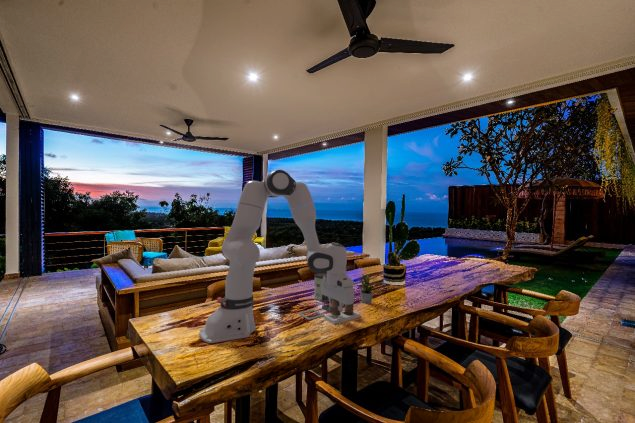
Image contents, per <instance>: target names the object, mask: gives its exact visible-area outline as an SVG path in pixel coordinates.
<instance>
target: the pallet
mask: <svg viewBox="0 0 635 423" xmlns="http://www.w3.org/2000/svg"><path fill="white" fill-rule="evenodd" d="M358 318H361V313H359V312H357V311H355V310H353V315H351V316H347V315H345V310H342V311H341V315H338V316H335V315H332V313H329V314H327V315H325V316H323V320H325V321H326V322H328V323H330V324H333V325H337V324H340V323H341V324H342V323H344V322H347V321H351V320H355V319H358Z"/></svg>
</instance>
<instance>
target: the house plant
mask: <svg viewBox="0 0 635 423" xmlns="http://www.w3.org/2000/svg"><path fill="white" fill-rule="evenodd" d="M361 275H362V278H363V280H362V279H361V278H357V277H358V276H355V278H357V280H358V281H359V282H360V283H361V285H360V284H358V283H355V282H354V285H355V284H356V287H359V288H360V299H361V300H360V301H361V303H363V304H365V305H367V306H368V305H371V304H372V302H373V297H374V296H373V295H374V291H373V290H374V289H377V288H376V287H375V285H374V282H375V281H377V280H379V278H378V279H376V278H373V280H372V282H371V283H370V280H371V279H370V274H369V275H368V274H365V275H364V273H361Z"/></svg>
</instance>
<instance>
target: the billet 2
mask: <svg viewBox="0 0 635 423" xmlns="http://www.w3.org/2000/svg"><path fill="white" fill-rule="evenodd" d="M354 302H355V301H354ZM354 302H353V304H350V305H346V304H344V311H345V315H347V316H351V315H353V311H354Z"/></svg>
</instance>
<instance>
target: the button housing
mask: <svg viewBox="0 0 635 423" xmlns="http://www.w3.org/2000/svg"><path fill="white" fill-rule="evenodd" d="M321 309H322V310H323V311H326V312H327V313H329V314H332V308H330V307H329V303H327V304H324V305H323V304H322V305H321Z"/></svg>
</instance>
